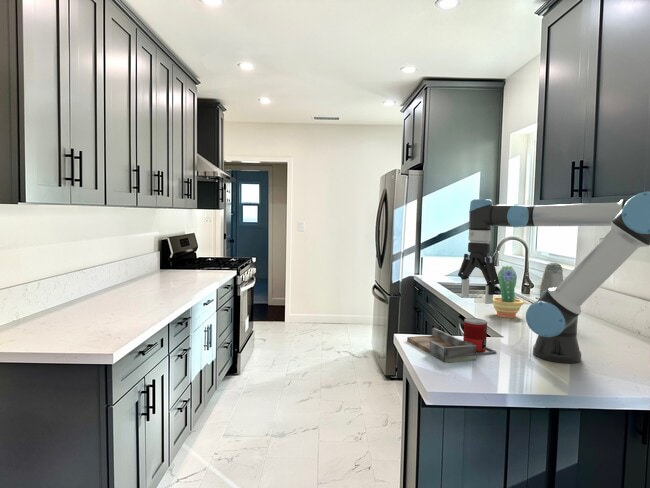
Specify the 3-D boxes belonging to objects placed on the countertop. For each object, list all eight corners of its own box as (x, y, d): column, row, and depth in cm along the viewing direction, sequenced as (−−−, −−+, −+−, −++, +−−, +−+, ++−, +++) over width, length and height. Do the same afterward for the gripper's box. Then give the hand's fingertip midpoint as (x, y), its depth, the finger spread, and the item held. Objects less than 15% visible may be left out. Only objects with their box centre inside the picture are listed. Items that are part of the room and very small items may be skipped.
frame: (497, 353, 155) (497, 351, 155) (472, 355, 152) (473, 354, 152) (476, 343, 167) (476, 342, 167) (453, 345, 164) (453, 344, 163)
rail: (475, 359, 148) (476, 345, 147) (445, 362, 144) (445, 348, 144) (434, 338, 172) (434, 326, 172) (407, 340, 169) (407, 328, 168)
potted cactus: (484, 314, 218) (486, 265, 216) (499, 310, 228) (501, 263, 226) (513, 320, 206) (516, 268, 205) (528, 316, 216) (531, 266, 215)
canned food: (487, 353, 155) (488, 323, 154) (464, 351, 156) (465, 322, 156) (484, 347, 162) (485, 318, 162) (461, 345, 164) (463, 317, 163)
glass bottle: (560, 324, 201) (564, 264, 199) (536, 320, 207) (540, 262, 206) (564, 320, 209) (567, 263, 207) (541, 317, 215) (544, 261, 213)
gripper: (450, 239, 168) (447, 294, 169) (493, 244, 144) (490, 307, 145) (466, 240, 170) (464, 293, 171) (512, 244, 146) (508, 306, 148)
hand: (476, 299), depth 158 cm, fingers open, 13 cm apart
